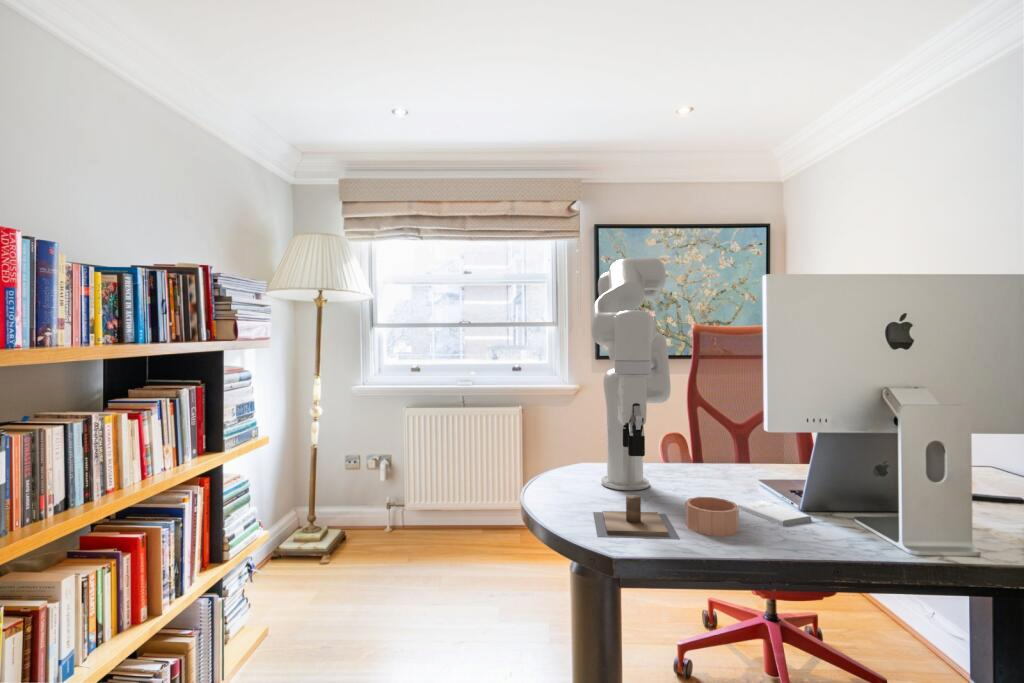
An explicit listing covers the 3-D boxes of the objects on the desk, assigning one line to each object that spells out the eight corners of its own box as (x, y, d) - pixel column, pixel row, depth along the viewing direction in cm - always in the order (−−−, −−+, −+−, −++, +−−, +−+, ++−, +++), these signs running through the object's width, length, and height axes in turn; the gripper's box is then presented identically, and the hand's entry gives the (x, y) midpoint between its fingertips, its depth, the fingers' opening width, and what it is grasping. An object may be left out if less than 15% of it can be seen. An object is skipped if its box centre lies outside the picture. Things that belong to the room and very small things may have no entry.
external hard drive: (782, 528, 111) (738, 510, 123) (811, 523, 114) (765, 506, 126) (782, 520, 111) (738, 503, 123) (811, 515, 114) (765, 499, 126)
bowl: (681, 519, 115) (681, 496, 115) (729, 520, 114) (729, 497, 114) (693, 536, 105) (692, 511, 105) (745, 537, 105) (744, 512, 104)
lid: (602, 514, 118) (602, 488, 118) (657, 515, 117) (657, 489, 117) (607, 534, 106) (606, 505, 106) (668, 536, 105) (668, 506, 105)
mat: (593, 513, 120) (593, 512, 120) (665, 515, 118) (665, 513, 118) (597, 538, 105) (597, 536, 105) (680, 540, 103) (680, 539, 103)
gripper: (610, 368, 120) (611, 443, 120) (619, 371, 103) (619, 459, 103) (644, 368, 119) (645, 444, 119) (658, 371, 102) (659, 460, 102)
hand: (633, 451), depth 111 cm, fingers open, 9 cm apart
